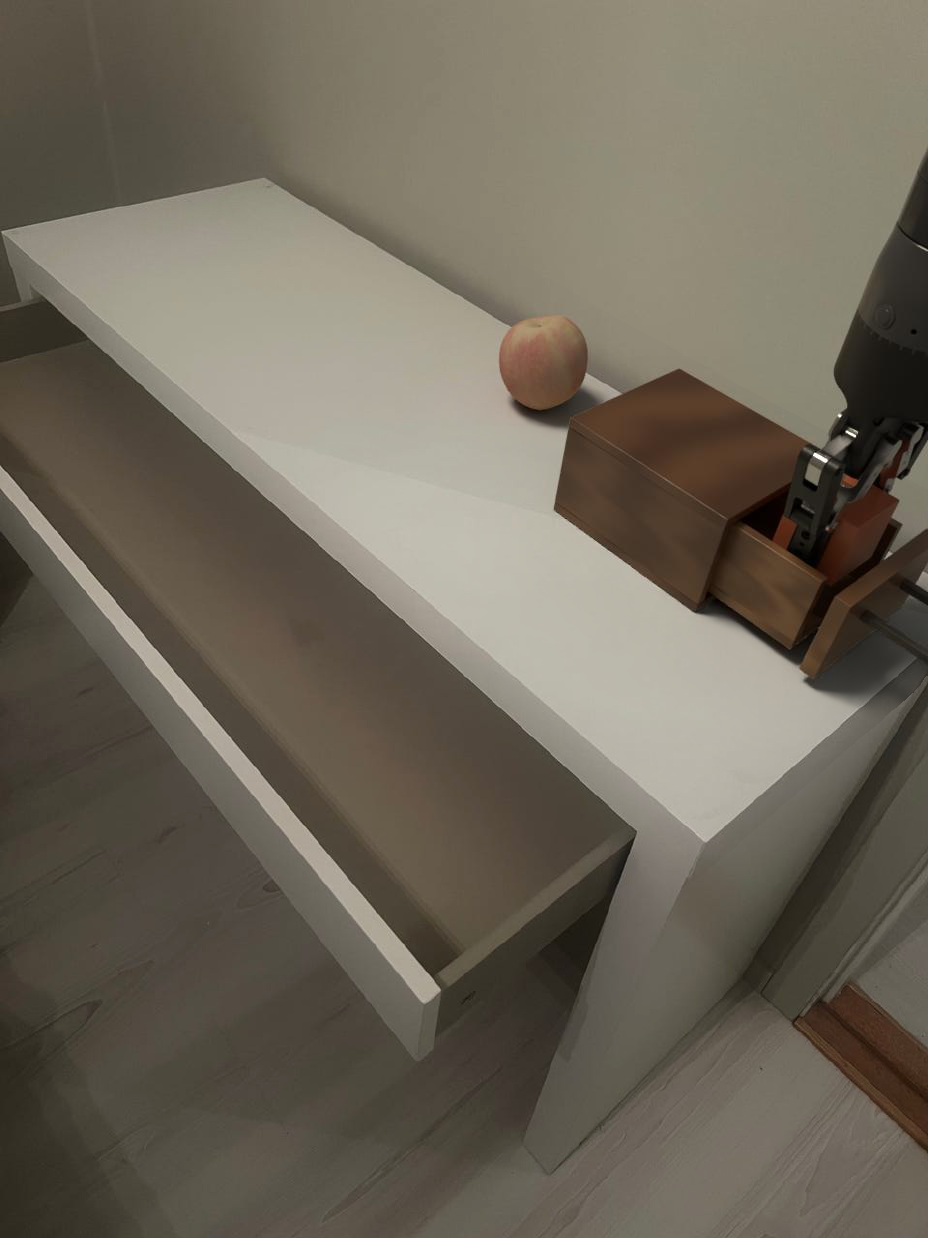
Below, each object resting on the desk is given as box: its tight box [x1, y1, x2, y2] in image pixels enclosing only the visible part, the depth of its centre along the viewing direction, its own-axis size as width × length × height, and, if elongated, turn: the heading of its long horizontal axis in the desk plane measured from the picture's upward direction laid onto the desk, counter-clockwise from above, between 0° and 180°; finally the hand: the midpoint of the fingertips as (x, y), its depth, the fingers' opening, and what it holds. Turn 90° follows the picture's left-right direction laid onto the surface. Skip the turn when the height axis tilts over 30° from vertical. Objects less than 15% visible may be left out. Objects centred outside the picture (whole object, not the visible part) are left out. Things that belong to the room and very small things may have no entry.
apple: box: [498, 314, 589, 411], centre depth 83 cm, size 8×8×8 cm
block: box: [773, 475, 901, 586], centre depth 62 cm, size 5×5×5 cm
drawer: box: [708, 489, 928, 680], centre depth 64 cm, size 20×11×7 cm, turn 41°
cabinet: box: [553, 368, 822, 613], centre depth 71 cm, size 15×13×9 cm
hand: (823, 547), depth 64 cm, fingers closed on block, 5 cm apart
